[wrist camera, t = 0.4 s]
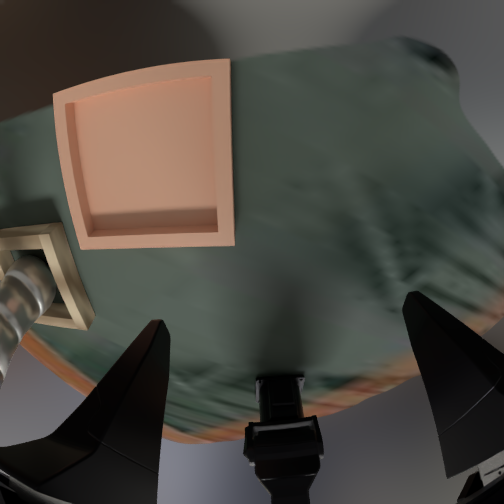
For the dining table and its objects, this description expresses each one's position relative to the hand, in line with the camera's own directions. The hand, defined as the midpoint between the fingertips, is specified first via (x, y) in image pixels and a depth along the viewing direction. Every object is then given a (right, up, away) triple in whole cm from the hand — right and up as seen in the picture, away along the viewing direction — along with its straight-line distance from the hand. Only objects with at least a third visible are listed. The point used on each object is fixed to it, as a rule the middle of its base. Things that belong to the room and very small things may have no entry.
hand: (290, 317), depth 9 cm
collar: (-26, 0, +16) cm, 30 cm away
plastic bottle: (-26, 0, +16) cm, 30 cm away
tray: (-10, +10, +11) cm, 17 cm away
